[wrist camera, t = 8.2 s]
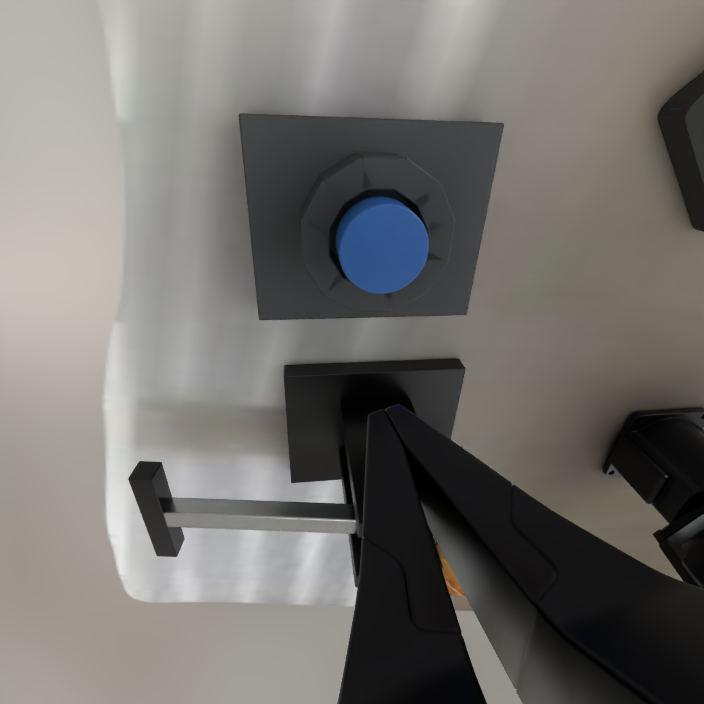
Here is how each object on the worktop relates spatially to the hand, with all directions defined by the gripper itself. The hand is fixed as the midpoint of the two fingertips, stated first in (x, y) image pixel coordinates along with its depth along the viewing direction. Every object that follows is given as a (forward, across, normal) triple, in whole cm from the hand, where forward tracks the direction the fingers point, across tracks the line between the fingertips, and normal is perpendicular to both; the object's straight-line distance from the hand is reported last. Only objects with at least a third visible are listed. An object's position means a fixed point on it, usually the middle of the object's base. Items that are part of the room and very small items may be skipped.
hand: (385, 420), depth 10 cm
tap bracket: (+12, -1, +12) cm, 17 cm away
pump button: (+9, -3, -1) cm, 10 cm away
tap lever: (+7, +5, +11) cm, 14 cm away
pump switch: (+13, -3, 0) cm, 13 cm away
